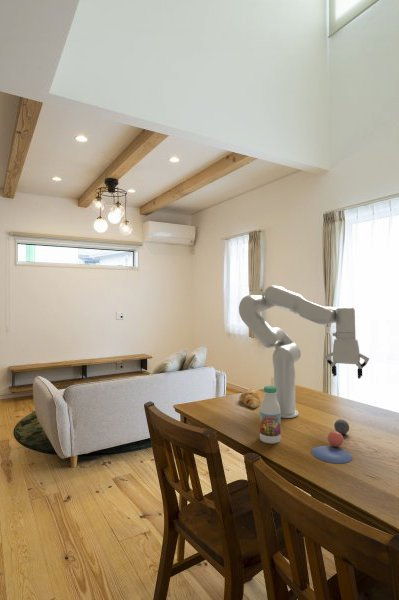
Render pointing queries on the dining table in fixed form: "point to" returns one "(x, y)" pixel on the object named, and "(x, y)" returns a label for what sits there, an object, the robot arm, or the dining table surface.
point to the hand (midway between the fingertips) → (346, 376)
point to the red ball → (335, 439)
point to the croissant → (250, 398)
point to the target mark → (331, 454)
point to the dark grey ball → (341, 426)
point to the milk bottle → (270, 417)
